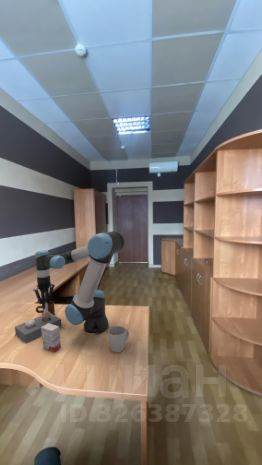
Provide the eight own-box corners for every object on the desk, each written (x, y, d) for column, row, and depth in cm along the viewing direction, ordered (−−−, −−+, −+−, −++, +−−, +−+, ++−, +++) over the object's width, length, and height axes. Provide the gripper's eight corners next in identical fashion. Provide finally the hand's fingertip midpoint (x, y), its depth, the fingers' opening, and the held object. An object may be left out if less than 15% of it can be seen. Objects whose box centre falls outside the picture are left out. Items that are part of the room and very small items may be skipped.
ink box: (61, 347, 113) (60, 326, 112) (53, 353, 109) (52, 330, 108) (49, 343, 117) (48, 322, 116) (42, 348, 113) (40, 326, 112)
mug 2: (117, 356, 104) (116, 337, 104) (105, 349, 111) (104, 330, 110) (134, 344, 114) (134, 326, 113) (122, 338, 120) (122, 321, 119)
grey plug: (37, 332, 127) (36, 320, 126) (28, 336, 123) (27, 324, 122) (33, 330, 130) (32, 318, 129) (24, 333, 126) (23, 321, 126)
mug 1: (37, 322, 141) (36, 308, 140) (35, 317, 147) (34, 304, 146) (56, 316, 147) (55, 303, 146) (53, 312, 154) (52, 300, 153)
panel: (61, 326, 134) (61, 319, 134) (25, 343, 118) (25, 334, 117) (50, 319, 143) (49, 312, 143) (15, 334, 127) (14, 326, 126)
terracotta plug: (52, 324, 134) (51, 312, 134) (45, 327, 131) (44, 315, 130) (48, 321, 138) (47, 310, 137) (41, 325, 134) (40, 313, 133)
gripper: (50, 272, 139) (52, 307, 141) (30, 277, 129) (32, 315, 131) (56, 274, 134) (58, 310, 136) (35, 279, 124) (38, 318, 126)
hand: (46, 312), depth 133 cm, fingers closed
